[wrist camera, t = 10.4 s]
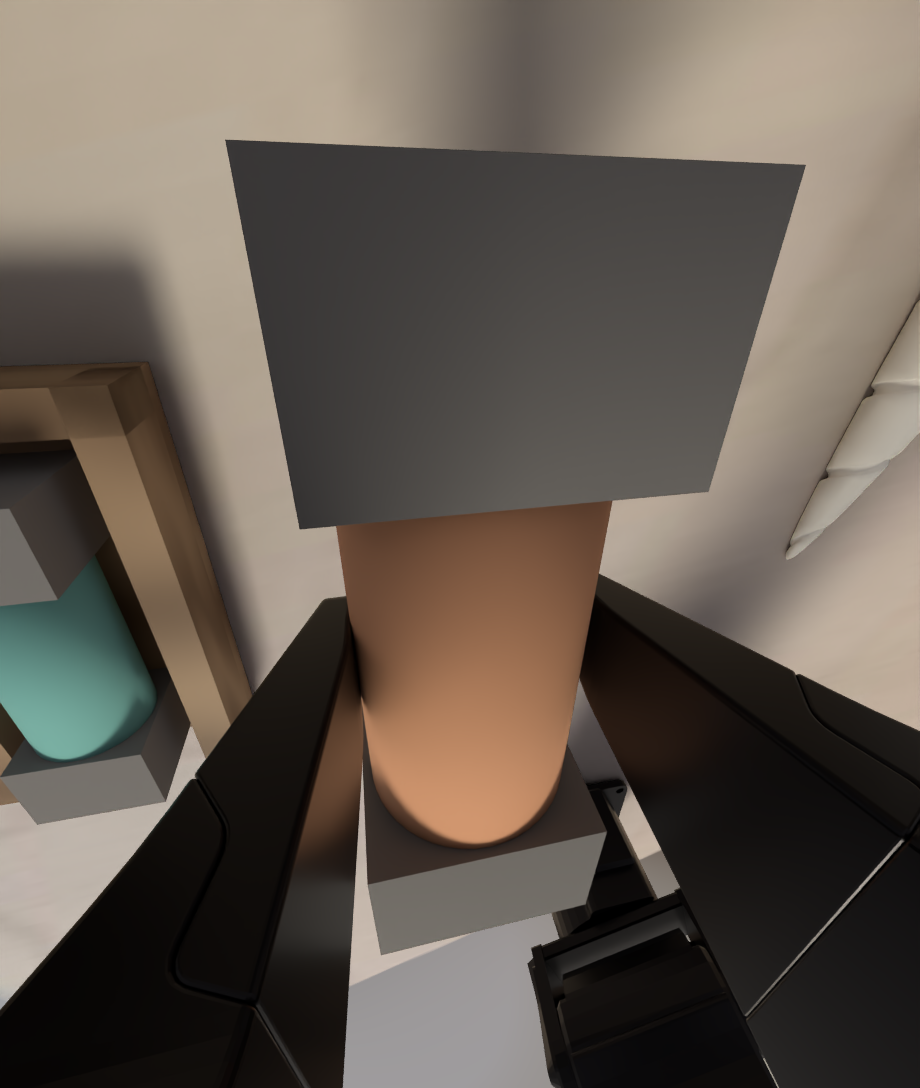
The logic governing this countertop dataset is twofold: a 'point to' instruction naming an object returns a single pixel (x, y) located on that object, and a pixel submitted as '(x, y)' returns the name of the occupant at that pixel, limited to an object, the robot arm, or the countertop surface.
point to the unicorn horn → (869, 437)
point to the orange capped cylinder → (492, 460)
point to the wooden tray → (134, 529)
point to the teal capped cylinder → (74, 656)
